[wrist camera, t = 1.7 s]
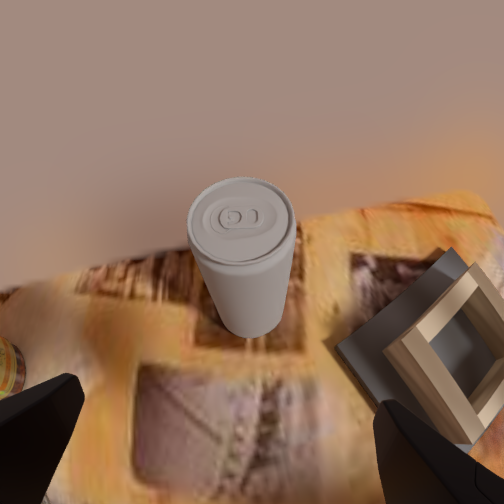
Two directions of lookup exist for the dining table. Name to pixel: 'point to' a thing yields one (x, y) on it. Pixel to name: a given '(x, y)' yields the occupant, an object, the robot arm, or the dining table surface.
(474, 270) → the can collar
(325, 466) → the dining table surface
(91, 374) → the dining table surface
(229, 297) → the beverage can
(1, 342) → the sauce bottle
